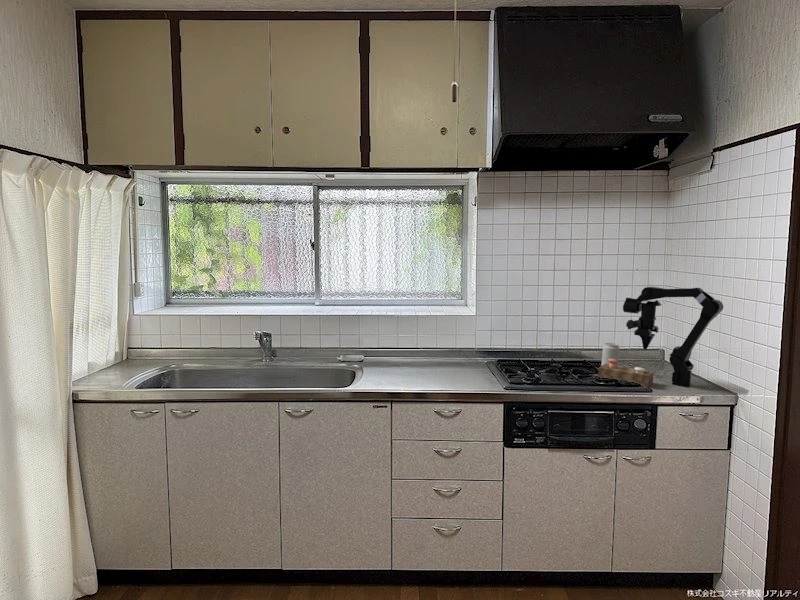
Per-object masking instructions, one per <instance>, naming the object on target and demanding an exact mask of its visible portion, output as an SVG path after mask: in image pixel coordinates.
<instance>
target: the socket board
mask: <svg viewBox="0 0 800 600" xmlns="http://www.w3.org/2000/svg"><path fill="white" fill-rule="evenodd" d="M634 369H635V367H634V368H633V367H627V366H622V365H620V366H619V365H618V366H617V369H613V368H609V364H604V365H603V366H601V365H600V366H599V367H598V372H597V373H598V374H597V378H598V377H600V378H609V379H617V380H623V381H627V382H634V383H637V384H640V385H641V386H644V387H643V388H646V387H647V389H648V388H649V387H650V386H651V385H653V383H654V373H655V372H654V371H651V370H647V369H645V371H644V374H643V373H637V372H636V370H634Z"/></svg>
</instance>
